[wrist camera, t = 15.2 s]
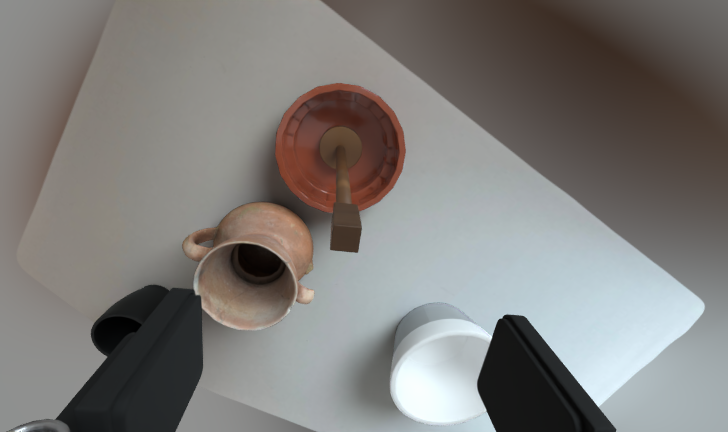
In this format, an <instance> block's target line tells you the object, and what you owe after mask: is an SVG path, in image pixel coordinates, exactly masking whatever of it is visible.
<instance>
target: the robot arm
mask: <svg viewBox="0 0 728 432" xmlns="http://www.w3.org/2000/svg"><path fill="white" fill-rule="evenodd" d="M202 369H203V344H202V301H201V296H200V295H196V294H195V290H193V289H182V288H172V289H171V290H170V291H169V292H168V294H167V295H166V296H165V297H164V299H163V300H162V301H161V302H160V304H159V305H158V306H157V307H156V308H155V310H154V311H153V312H152V313H151V315H150V316H149V317H148V318H147V320H146V321H145V322H144V323H143V325H142V326H141V327H140V328H139V329H138V331H137V332H136V333H133V332H132V333H129V334H128V335H126V336H125V337H124V338H123V339H122V341H121V342H120V343H119V344H118V345H117V347H116V348H115V349H114V350H113V351H112V353H111V354H110V355H109V356H108V357H107V359H106V360H105V361H104V362H103V363H102V365H101V366H100V367H99V368H98V369H97V371H96V372H95V373H94V374H93V375H92V376H91V378H90V379H89V380H88V381H87V382H86V384H85V385H84V386H83V387H82V389H81V390H80V391H79V392H78V393H77V394H76V395H75V397H74V398H73V399H72V400H71V401H70V403H69V404H68V405H67V406H66V407H65V409H64V410H63V411H62V412H61V413H60V415H59V416H58V417H57V418H56V419H55V420H52V419H44V420H37V421H32V422H29V423H26V424H23V425H20V426H17V427H15V428H13V429H11V430H9V431H7V432H175V431H176V429H177V427H178V425H179V422H180V421H181V418H182V416H183V414H184V412H185V410H186V407H187V405H188V403H189V401H190V399H191V397H192V395H193V392H194V390H195V388H196V386H197V384H198V382H199V380H200V377H201V374H202ZM477 390H478V393H479V395H480V397H481V400H482V402H483V404H484V406H485V408H486V410H487V413H488V415H489V417H490V419H491V421H492V424H493V426H494V428H495V430H496V432H616V429H615V427H614V426H613V425H612V424H611V422H610V421H609V420H608V419H607V417H606V416H605V415H604V414H603V413H602V411H601V410H600V409H599V407H598V406H597V405H596V404H595V403H594V401H593V400H592V399H591V398H590V396H589V395H588V394H587V393H586V391H585V390H584V389H583V388H582V386H581V385H580V384H579V383H578V382H577V380H576V379H575V378H574V377H573V375H572V374H571V373H570V372H569V370H568V369H567V368H566V367H565V365H564V364H563V363H562V362H561V361H560V359H559V358H558V357H557V356H556V354H555V353H554V352H553V351H552V349H551V348H550V347H549V346H548V344H547V343H546V342H545V341H544V339H543V338H542V337H541V336H540V335H539V333H538V332H537V331H536V330H535V328H534V327H533V326H532V325H531V323H530V322H529V321H528V320H527V318H525V317H524V316H519V315H504V316H503V318H502V319H499V320H498V322H497V324H496V327H495V330H494V333H493V336H492V339H491V342H490V345H489V348H488V351H487V354H486V356H485V359H484V362H483V365H482V368H481V371H480V374H479V377H478V380H477Z"/></svg>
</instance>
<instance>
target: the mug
mask: <svg viewBox="0 0 728 432" xmlns="http://www.w3.org/2000/svg"><path fill="white" fill-rule="evenodd" d="M168 292H169V290H168V289H166V288H164V287H162V286H159V285H148V286H145V287H144V288H142V289H139V290H137V291H135V292H133V293H131V294H129V295H127V296H126V297H124V298H123V299H121V300H120V301H118V302H117V303H115V304H114V305H113V306H111V307H110V308H109V309H108V310H107V311H106V312H105V313H104V314H103V315H102V316H101V317H100V318H99V319H98V320H97V321H96V322H95V323H94V325H93V327H92V329H91V338H92V341H93V343H94V345H95V346H96V348H97V349H98V350H99V351H100V352H101V353H103V354H104V355H106V356H107V357H108V356H109V355H110V354H111V353H112V351H113V350H114V349H115V348H116V347H117V345H118V344H119V343H120V342H121V341H122V339H123V338H124V337H125V336H126V335H128V334H129V333H132V332H133V333H136V332H137V331H138V329H139V328H140V327H141V326H142V325H143V323H144V322H145V321H146V320H147V318H148V317H149V316H150V315H151V313H152V312H153V311H154V310H155V308H156V307H157V306H158V305H159V304H160V302H161V301H162V300H163V299H164V297H165V296H166V295H167V294H168Z"/></svg>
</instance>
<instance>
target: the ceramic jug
mask: <svg viewBox="0 0 728 432" xmlns="http://www.w3.org/2000/svg"><path fill="white" fill-rule="evenodd" d="M210 240H213V248H208V247H203V246H200V245H198V244H200V243H203V242H206V241H210ZM182 247H183V251H184V253H185V255H186V256H187V257H188V258H190V259H192V260H194V261H198V262H200V263H199V264H198V266H197V268H196V271H195V273H194V278H193V286H194V290H195V294H196V295H200V296H201V301H202V309H203V310H204V311H205V312H206V313H207V314H209V315H210V316H211V318H213V319H214V320H215V321H217V322H219V323H221V324H222V325H224V326H227V327H230V328H234V329H237V330H248V331H254V330H261V329H265V328H268V327H271V326H273V325H275V324H277V323H279V322H280V321H281V320H283V319H284V318H285V317H286V316H287V315H288V314H289V312H290V310H291V308H292V307H293V306H294V304H295V301H297V302H298V303H302V304H308V303H310V302H311V301H312V300H313V296H314V290H311V289H308V288H306V287H304V286H302V285H301V284H300V283H299V282H298V281H299V280H300V279H301V278H302V277H303V276H304V275H305V274H308V273H309V272H310V271H311V270H312V269H313V263H312V257H313V241H312V237H311V234H310V232H309V230H308V228H307V226H306V225H305V223H304V222H303V221H302V220H301V219H300V217H299V216H297V215H296V214H295V213H294V212H292V211H291V210H289V209H288V208H286V207H283V206H281V205H278V204H274V203H269V202H253V203H248V204H245V205H242V206H239V207H237V208H235V209H234V210H232V211H231V212H230V213H228V214H227V215H226V216H225V217H224V218H223V220H222V221H221V222H220V224H219V225H218V226H217V227H216V228H207V229H203V230H199V231H196V232H194V233H192V234H191V235H189V236H188V237H187V238H186V239H185V240H184V241H183V244H182Z"/></svg>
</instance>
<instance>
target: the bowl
mask: <svg viewBox="0 0 728 432" xmlns="http://www.w3.org/2000/svg"><path fill="white" fill-rule="evenodd" d="M491 339H492V336H490V335H489V334H488V333H487V332H486V331H485V330H483V329H482V328H481V327H480V326H479V325H477V324H476V323H475V322H474V321H473V320H472V319H471V318H469V317H468V316H467V315H466V314H465V313H464V312H462V311H461V310H460V309H459V308H457V307H455V306H453V305H449V304H446V303H430V304H426V305H422V306H420V307H418V308H415V309H414V310H412V311H411V312H409V313H408V314H407V315H406V316H405V317H404V318H403V319H402V321H401V322H400V324H399V326H398V328H397V331H396V335H395V343H394V351H393V359H392V365H391V373H390V393H391V397H392V400H393V401H394V403H395V405H396V406H397V408H398V409H399V410H400V411H401V412H402V413H403V414H404V415H406V416H407V417H409V418H410V419H412V420H414V421H417V422H420V423H423V424H427V425H434V426H447V425H455V424H459V423H464V422H467V421H469V420H472V419H474V418H476V417H478V416H480V415H482V414H483V413H485V412H487V410H486V408H485V406H484V404H483V402H482V400H481V397H480V395H479V393H478V390H477V380H478V377H479V374H480V371H481V368H482V365H483V362H484V359H485V356H486V354H487V351H488V348H489V345H490V342H491Z"/></svg>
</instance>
